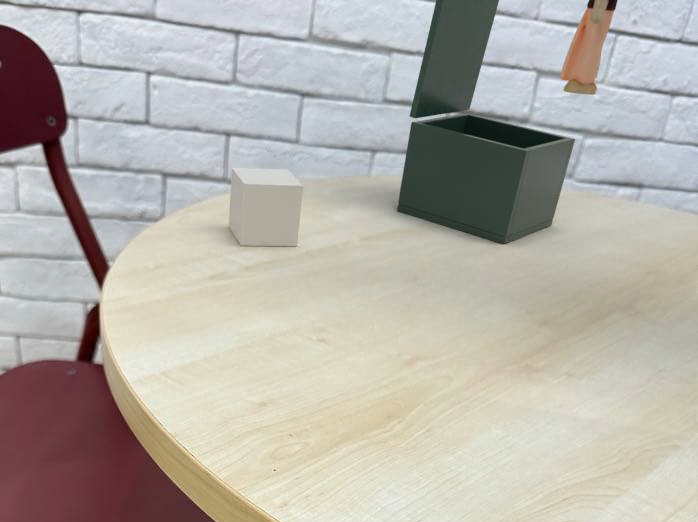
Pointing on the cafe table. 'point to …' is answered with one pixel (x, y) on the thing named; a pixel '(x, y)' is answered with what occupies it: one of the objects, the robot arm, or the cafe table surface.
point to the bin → (483, 175)
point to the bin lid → (453, 56)
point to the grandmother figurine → (587, 48)
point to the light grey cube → (265, 207)
